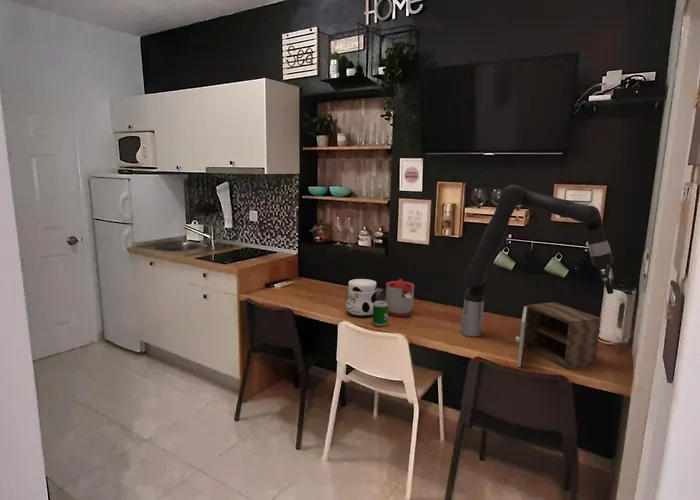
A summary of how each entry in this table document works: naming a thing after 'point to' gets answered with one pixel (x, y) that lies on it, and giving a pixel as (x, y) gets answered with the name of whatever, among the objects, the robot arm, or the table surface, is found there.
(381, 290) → the bluetooth speaker
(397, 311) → the citrus juicer
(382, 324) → the soda can
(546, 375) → the table surface
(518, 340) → the sage door
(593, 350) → the walnut cabinet
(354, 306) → the milk container
